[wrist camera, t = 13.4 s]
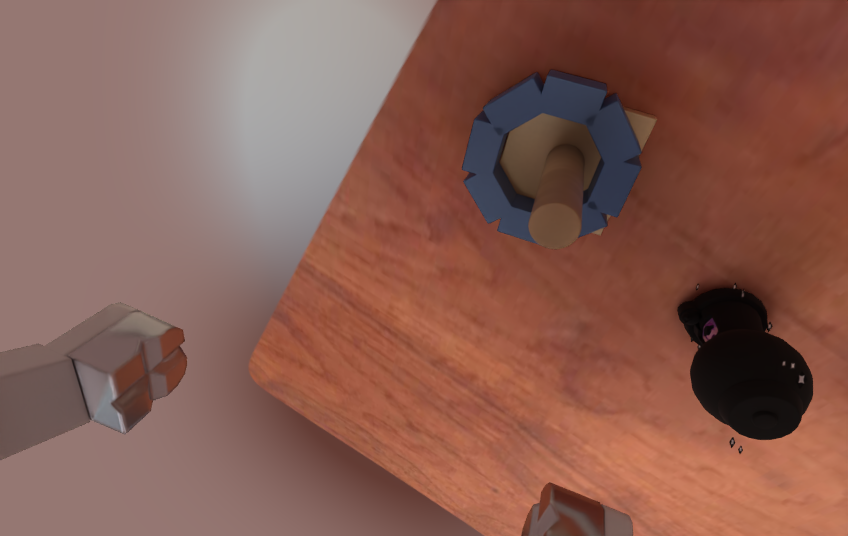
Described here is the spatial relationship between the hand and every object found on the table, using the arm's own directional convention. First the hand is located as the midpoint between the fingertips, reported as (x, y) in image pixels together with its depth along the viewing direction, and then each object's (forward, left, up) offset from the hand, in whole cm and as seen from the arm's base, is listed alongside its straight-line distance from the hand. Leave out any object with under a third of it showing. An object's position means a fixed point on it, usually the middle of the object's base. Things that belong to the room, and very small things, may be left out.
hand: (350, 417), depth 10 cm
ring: (-3, +1, -25) cm, 25 cm away
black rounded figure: (-18, +8, -26) cm, 32 cm away
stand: (-4, +1, -26) cm, 26 cm away
